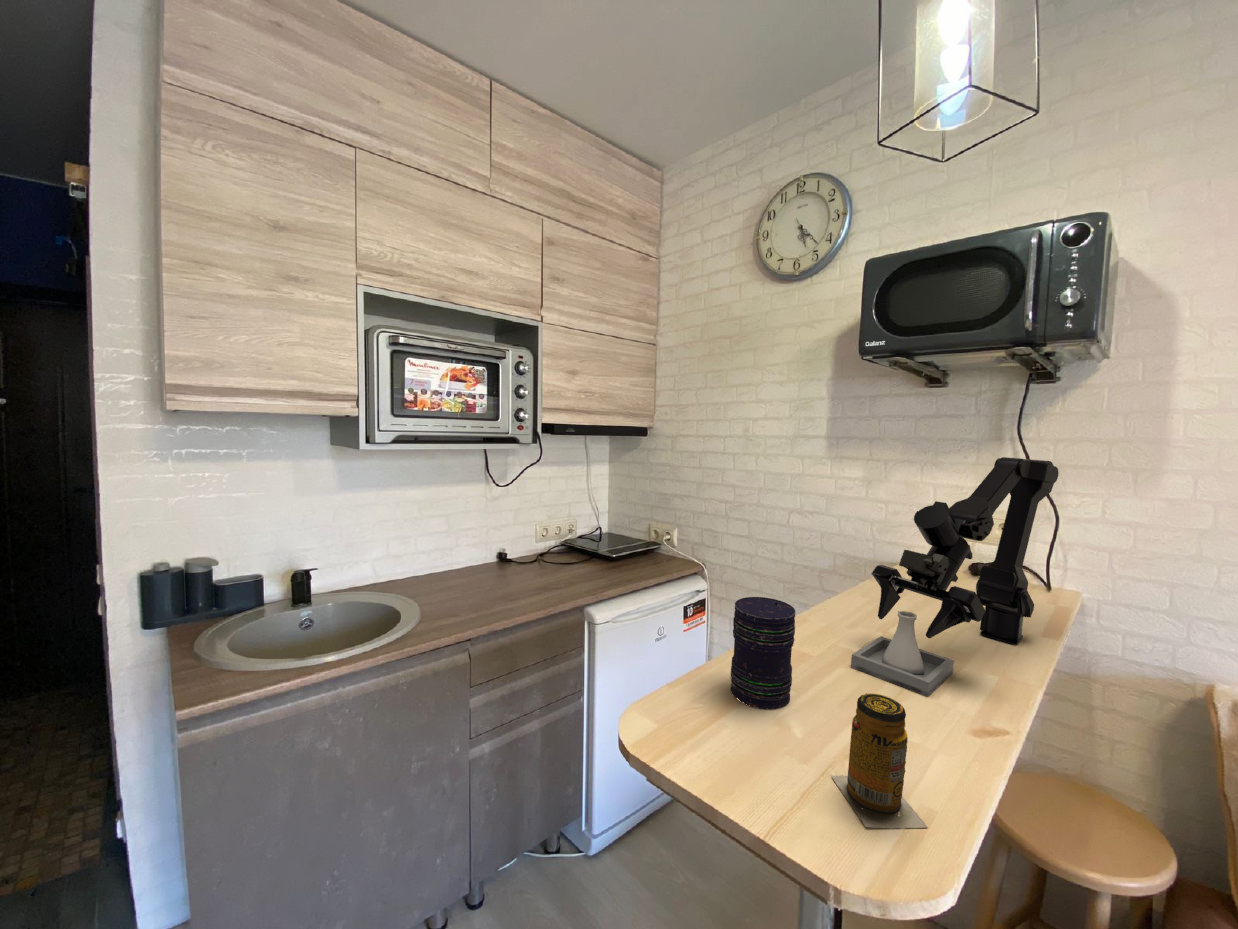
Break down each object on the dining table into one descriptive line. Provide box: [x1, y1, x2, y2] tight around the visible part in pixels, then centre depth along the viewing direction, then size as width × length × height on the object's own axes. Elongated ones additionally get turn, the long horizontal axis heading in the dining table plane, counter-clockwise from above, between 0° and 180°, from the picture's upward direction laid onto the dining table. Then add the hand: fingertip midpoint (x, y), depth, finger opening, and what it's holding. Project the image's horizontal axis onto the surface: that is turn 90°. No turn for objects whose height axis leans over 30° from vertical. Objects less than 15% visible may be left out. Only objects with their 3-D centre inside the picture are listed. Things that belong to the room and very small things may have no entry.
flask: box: [882, 610, 924, 674], centre depth 95 cm, size 7×7×10 cm
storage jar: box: [730, 596, 796, 711], centre depth 85 cm, size 10×10×15 cm
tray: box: [850, 636, 955, 698], centre depth 95 cm, size 13×13×2 cm
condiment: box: [831, 692, 928, 830], centre depth 62 cm, size 7×8×12 cm
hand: (902, 627), depth 94 cm, fingers open, 9 cm apart
